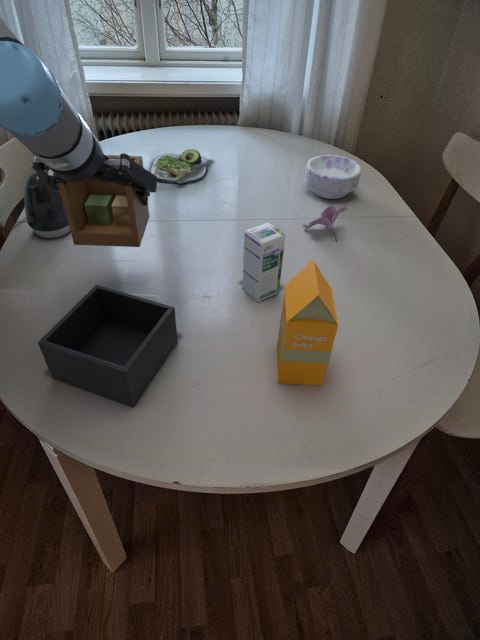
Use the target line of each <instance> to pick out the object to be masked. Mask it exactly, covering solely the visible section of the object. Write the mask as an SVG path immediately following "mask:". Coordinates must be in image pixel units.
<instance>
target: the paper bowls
mask: <svg viewBox="0 0 480 640" xmlns="http://www.w3.org/2000/svg"><path fill="white" fill-rule="evenodd" d="M361 174H362V167H361V166H360V164H359V163H358V162H357V161H355V160H354V159H351V158H349V157H345V156H342V155H336V154H323V155H317V156H313V157H311V158H310V159H309V160H308V161H307V162H306V167H305V174H304V182H305V184H306V185H307V186H308V187H309V188H311V191H312V192H313V194H315V195H316V196H318V197H320V198H323V199H328V200H337V199H341V198H343V197H345V196H346V195H348V193H351V192H353V191H355V190H356V189H358V186H359V184H360V179H361Z"/></svg>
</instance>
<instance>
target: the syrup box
mask: <svg viewBox="0 0 480 640" xmlns="http://www.w3.org/2000/svg"><path fill="white" fill-rule="evenodd" d="M285 241H286V234H285V233H284V232H283V231H282V230H280V229H279V228H278V227H276V226H275V225H273V224H271V223H270V222H267V221H266V222H264V223H263V224H260V225H257V226H254V227H251V228H249V229H248V228H247V229H245V230H244V231H243V255H242V256H243V258H242V259H243V260H242V287H241V288H242V290H244V291H245V293H246V294H248V295H249V296H250V297H251V298H252V299H253V300H254V301H256V302H257V303H260V302H262V301H263V300H266V299H269V298H271V297H273V296H275V295H277V294H279V293H280V287H281V278H282V268H283V261H284V251H285V243H286V242H285Z"/></svg>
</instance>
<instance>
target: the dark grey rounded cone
mask: <svg viewBox="0 0 480 640" xmlns="http://www.w3.org/2000/svg"><path fill="white" fill-rule="evenodd" d="M23 193H24V194H23V195H24V196H23V197H24V198H23V199H24V212H25V219H26V223H27V225H28V227H30V228H31V229H32V231H33V232H34V233H35V234H36V235H37V236H39V237H41V238H44V239H57V238H61V237H64V236H65V235H68V233H70V232H71V231H70V228H69V224H68V220H67V216H66V213H65V209H64V205H63V202H62V198H61V194H60V191H59V190H55V189H53V187H52V186H48V188H45V189H44V188H41V187H40V185H39V178H38V172H36V171H34V172H32V173H31V174H29V175H28V177H27V179H26V181H25V185H24V191H23Z"/></svg>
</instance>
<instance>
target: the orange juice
mask: <svg viewBox="0 0 480 640" xmlns="http://www.w3.org/2000/svg"><path fill="white" fill-rule="evenodd" d="M282 299H283V301H282V308H281V313H280V320H279V328H278V329H279V330H278V337H277V343H276V354H278V361H277V384H278V383H282V385H296V384H300V386H316V385H317V386H319V387H322V386H323V383H324V380H325V377H326V373H327V369H328V365H329V363H330V360H331V355H332V350H333V346H334V343H335V339H336V336H337V331H338V328H339V325H340V324H339V321H338V315H337V310H336V304H335V299H334V293H333V287H331V285H330V284H329V282H328V281H327V279H326V277H325V276H324V275H323V273H322V271H321V270H320V268H319V266H318V265H317V263H316V261H315V258H313V259H312V260H310V262H308V263H307V264H306V265H305V266H304V267H302V269H300V271H299V272H298V273H296V274H295V276H293V277H292V278H291V279H290V280H289V281H288V282H287V283H286V284H284V293H283V298H282ZM317 386H316V387H317Z"/></svg>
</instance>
